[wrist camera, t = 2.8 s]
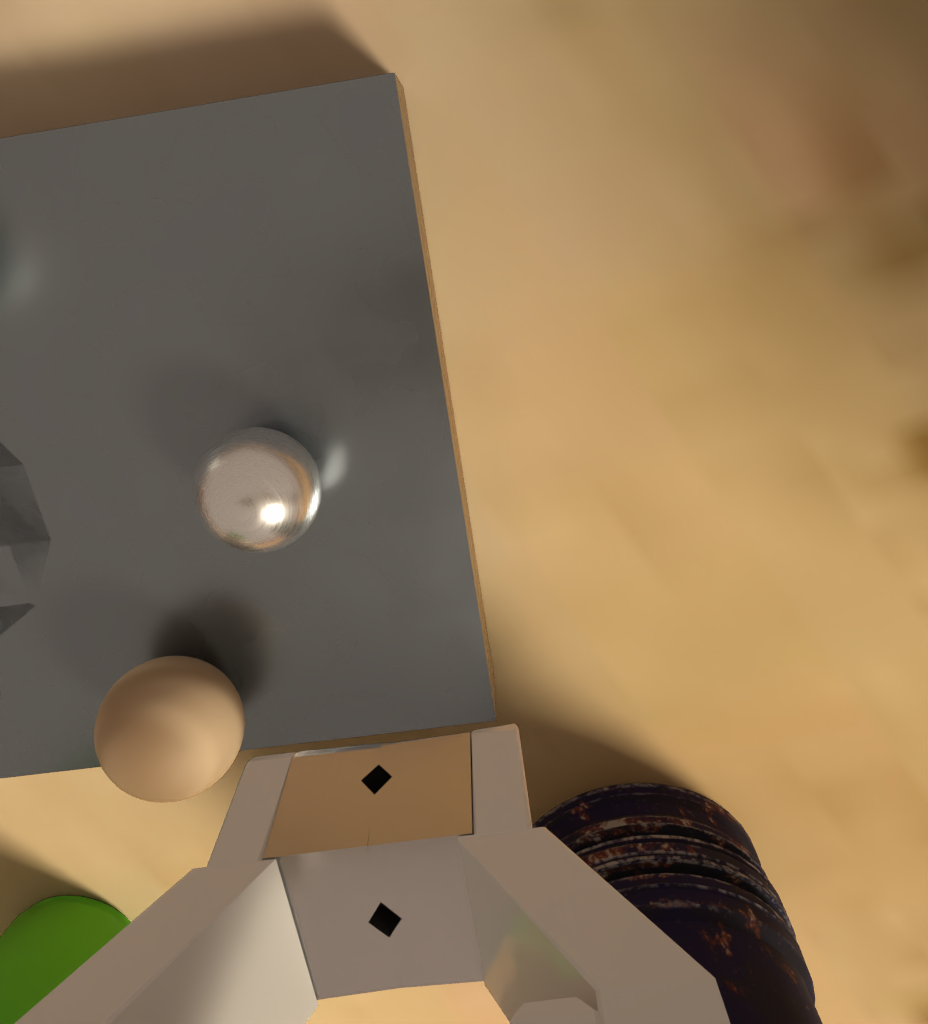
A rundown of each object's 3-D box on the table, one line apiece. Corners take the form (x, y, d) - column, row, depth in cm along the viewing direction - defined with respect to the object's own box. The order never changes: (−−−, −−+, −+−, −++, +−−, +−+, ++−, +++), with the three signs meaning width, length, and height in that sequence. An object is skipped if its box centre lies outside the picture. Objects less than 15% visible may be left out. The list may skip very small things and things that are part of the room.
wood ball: (241, 622, 24) (198, 701, 20) (273, 733, 25) (238, 826, 21) (112, 638, 24) (45, 719, 20) (150, 747, 25) (94, 842, 21)
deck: (403, 86, 21) (394, 72, 18) (493, 675, 27) (496, 720, 25) (-383, 217, 22) (-484, 219, 20) (-117, 748, 28) (-170, 798, 26)
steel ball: (317, 405, 21) (292, 439, 18) (341, 516, 22) (321, 565, 19) (200, 422, 21) (157, 458, 18) (230, 531, 22) (193, 581, 19)
